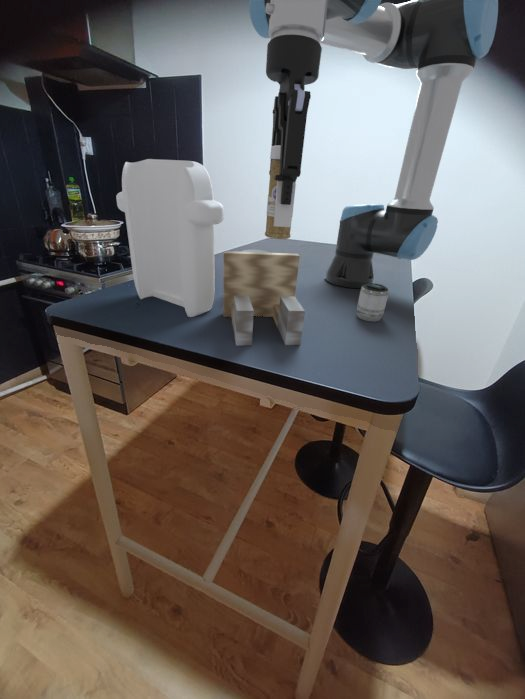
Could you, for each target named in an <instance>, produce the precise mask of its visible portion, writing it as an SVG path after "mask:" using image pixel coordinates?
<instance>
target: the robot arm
mask: <svg viewBox="0 0 525 699" xmlns="http://www.w3.org/2000/svg"><path fill="white" fill-rule="evenodd" d="M248 3H249V4H248V8H249V17H250V21H251V24H252V26H253V28H254V30H255V31H256V33H257V34H258V35H259V36H260V37H261V38H263V39H270V41H268V42H267V49H266V63H265V74H266V77H267V79H269V80H270V81H272V82H273V83H275V82H276V83H278V85H279V89H278V90H279V91H278V93H277V96H275V97H274V103H273V109H272V133H271V147H272V146H275V145H281V152H280V174H279V175H276V176H275V180H278V181H277V189H276V201H275V214H274V226H277V227H291V228H292V221H291V218H293V215H292V208H293V209H294V206H293V198H294V199H295V196H294V189H295V190H296V187H295V183H294V182H297V179H298V178H300V176H301V174H302V173H301V171H302V169H301V168H302V162H303V161H302V160H303V151H304V143H305V137H306V135H305V134H306V125H307V117H308V109H309V105H310V100H311V91H309V90H306V87H305V86H307V85H311V84H313V83H315V82H316V81H317V80H318V79H319V76H320V68H321V60H322V52H323V47H322V45H321V44H323V45H326V46H330V47H334V48H338V49H340V50H341V49H342V50H346V51H349V52H354V53H356V54H361V55H362V57H363V58H364V59H365V60H366V61H367V62H369V63H372V64H377V65H379V66H380V65H381V66H384V67H387V68H393V69H398V70H399V69H400V70H412V69H416V72H415V76H416V77H417V79H418V80H419V82H420V83H419V84H420V86H419V90H418V94H417V99H416V104H415V107H414V112H413V115H412V116H413V117H412V120H411V126H410V129H409V134H408V137H407V143H406V147H405V151H404V155H403V160H402V165H401V168H400V174H399V177H398V182H397V185H396V189H395V190H396V191H395V195H394V198H392V200H390V201H389V202H388V203H387V204H386V209H385V206H384V204H380V203H379V204H355V205H346V206H344V208H343V210H342V213H341V216H340V220H339V228H338V232H337V233H338V234H337V240H336V246H335V252H334V255H333V258H332V259H331V262H330V264H329V265H328V268H327V270H326V274H325V280H326V281H327V282H328V283H330V284H333V285H336V286H340V287H344V288H352V289H361V287H362V286H363V285H365V284H369V283H374V277H375V276H374V268H373V267H374V266H373V259H374V258H373V257H374V254H378V255H383V256H388V257H393V258H396V259H399V260H401V259H403V260H407V261H415V260H418V258H420V257H421V256H422V255H423V254H424V253H425V252H426V251H427V249H428V248H429V246H430V245H431V243H432V241H433V239H434V237H435V235H436V232H437V228H438V223H439V220H438V218H437V216H435V215H433V212H434V208H435V207H434V205H433V204H432V202H431V196H432V192H433V190H434V185H435V182H436V177H437V174H438V171H439V167H440V164H441V160H442V156H443V153H444V150H445V145H446V142H447V139H448V135H449V131H450V128H451V125H452V124H451V123H452V120H453V117H454V113H455V110H456V106H457V103H458V99H459V95H460V91H461V88H462V84H463V82H464V80H466V79H467V78H468V77H469V76H470V75H472V74H473V72H474V69H475V65H476V62H477V59H478V60H480V59H482V58H483V57H485V56H487V54H488V53H489V51H490V50H491V49H490V48H491V47H492V45H493V41H494V38H495V35H496V30H497V23H498V15H499V0H410V1H407V2H402V3H398V4H394V3H391V2H383V3H382V0H248ZM269 162H270V161H269ZM270 171H271V162H270V164H269V171H268V174H269V176H270Z"/></svg>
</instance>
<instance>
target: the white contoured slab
mask: <svg viewBox="0 0 525 699" xmlns="http://www.w3.org/2000/svg"><path fill="white" fill-rule="evenodd" d="M121 174H122V175H121V188H122V189H121V191H120V192H118V193H117V194H116V196H115V197H116V198H115V199H116V206H117V208H118V210H120V211H121V212H123V213H124V216H125V224H126V230H127V238H128V245H129V255H130V262H131V268H132V276H133V283H134V286H135V290H136V293H137V294H138V297H139V299H140V300H142V299H143V300H144V299H145V298H149V297H155V298H158V299H160V300H162V301H166V302H168V303H171V304H174V305H177V306H180V307H182V308H184V310H185V313H186V315H187V317H189V318H194V317H197V316H199V315H202V314H204V313H207V312H209V311H211V309H212V307H213V305H214V300H215V292H216V291H215V278H216V277H215V275H216V273H215V270H216V269H215V226H216V225H219V224H221V223H222V222H223V221H224V219H225V218H224V215H225V214H224V213H225V211H224V210H225V209H224V208H225V207H224V205H223V204H222V203H221V202H219V201H217V200H215V199H214V198H215V197H214V189H213V184H212V179H211V177H210V174H209V172H208V170H207V169H206V167H205V166H204V165H203V164H201V163H199V162H197V161H192V160H183V159H181V160H179V159H177V160H176V159H156V158H155V159H154V158H147V159H143V160H139V161H135V162H129V161H125V163H124V164H123V168H122V173H121Z"/></svg>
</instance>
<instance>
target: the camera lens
mask: <svg viewBox="0 0 525 699" xmlns="http://www.w3.org/2000/svg"><path fill="white" fill-rule="evenodd" d="M389 295H390V290H389V288H388V287H386V286H385V285H383V284H380V283H376V282H375V283H374V282H373V283H369V284H365V285H363V286H362V287H361V288H360V291H359V297H358V302H357V305H356V316H357V317H358V318H359V319H360V320H362V321H366V322H380V321H381V320H382V317H383V316H384V313H385V309H386V305H387V301H388V297H389Z"/></svg>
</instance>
